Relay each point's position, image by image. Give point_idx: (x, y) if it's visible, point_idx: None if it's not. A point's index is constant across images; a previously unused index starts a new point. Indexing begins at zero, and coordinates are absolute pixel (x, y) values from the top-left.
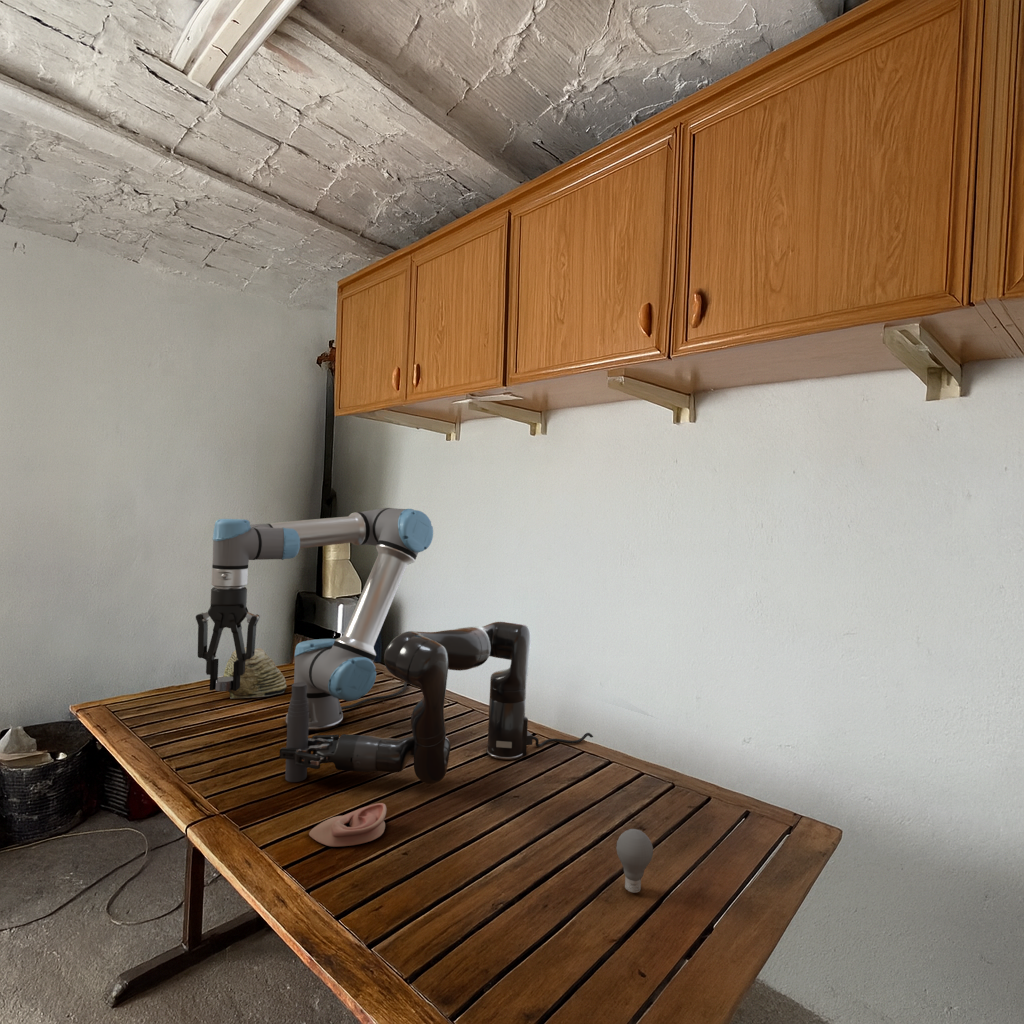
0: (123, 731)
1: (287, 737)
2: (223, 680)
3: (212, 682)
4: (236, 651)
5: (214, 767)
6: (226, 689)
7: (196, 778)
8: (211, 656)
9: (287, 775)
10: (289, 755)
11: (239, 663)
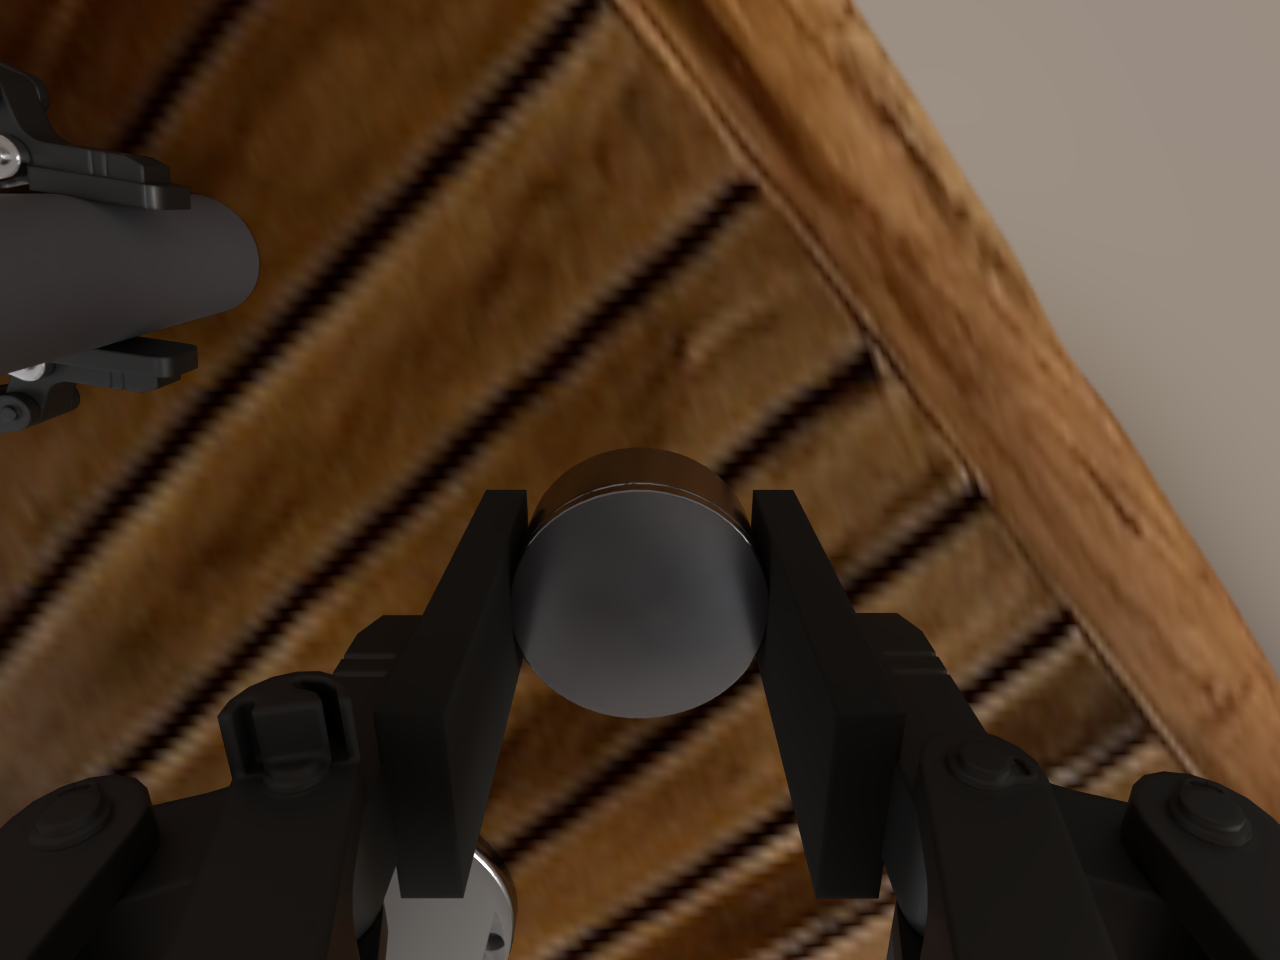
0: (1247, 791)
1: (76, 231)
2: (640, 553)
3: (779, 531)
4: (311, 924)
5: (685, 388)
6: (583, 466)
7: (733, 249)
8: (939, 804)
9: (214, 210)
10: (90, 148)
11: (368, 739)
